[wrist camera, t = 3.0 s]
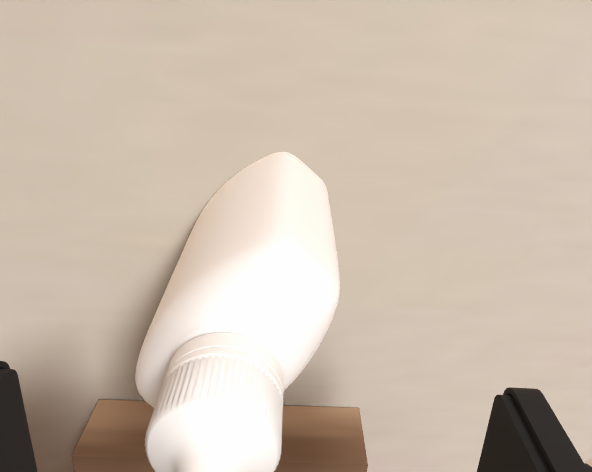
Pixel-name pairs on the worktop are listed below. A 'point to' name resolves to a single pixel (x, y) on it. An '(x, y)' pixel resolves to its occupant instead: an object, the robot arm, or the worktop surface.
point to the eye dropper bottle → (240, 321)
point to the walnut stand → (294, 451)
